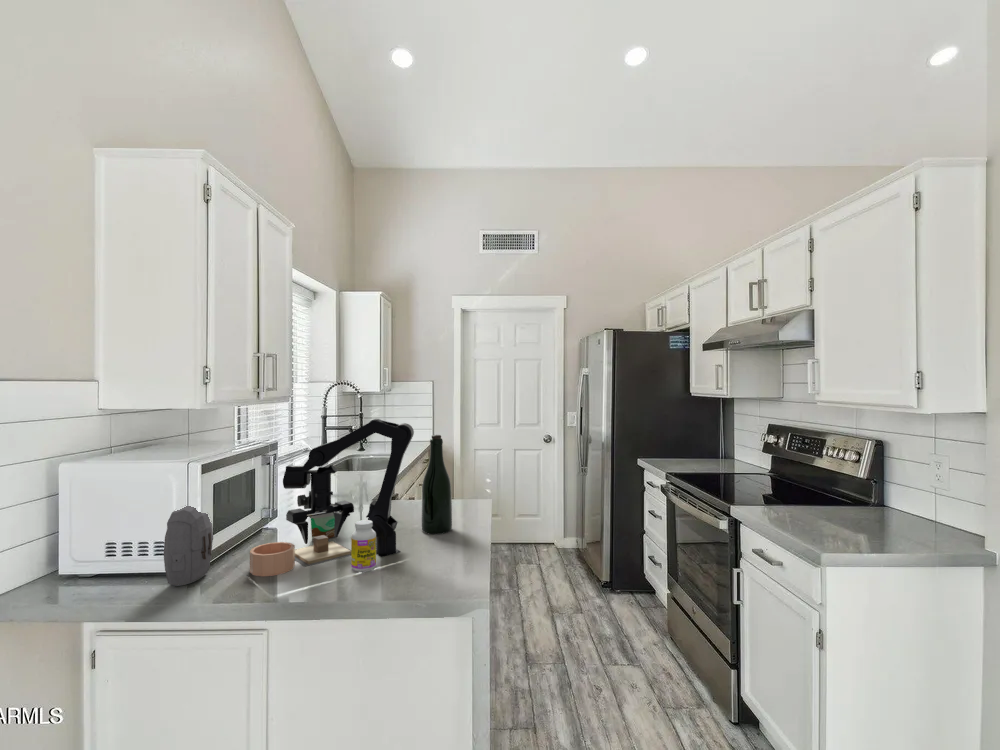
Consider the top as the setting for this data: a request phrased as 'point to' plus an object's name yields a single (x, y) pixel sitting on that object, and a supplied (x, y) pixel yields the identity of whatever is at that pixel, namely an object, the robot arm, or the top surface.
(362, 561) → the supplement bottle
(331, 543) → the lid
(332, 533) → the food container
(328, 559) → the mat
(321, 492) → the robot arm
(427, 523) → the dark green wine bottle
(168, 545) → the small grey backpack
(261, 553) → the bowl
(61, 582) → the top surface
